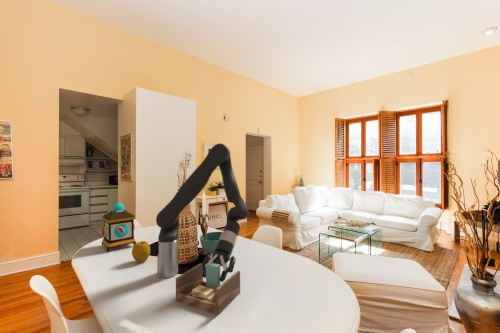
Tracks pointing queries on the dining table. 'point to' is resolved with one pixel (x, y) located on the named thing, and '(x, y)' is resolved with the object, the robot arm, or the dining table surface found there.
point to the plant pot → (210, 241)
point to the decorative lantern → (118, 227)
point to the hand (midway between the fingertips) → (212, 279)
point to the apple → (141, 251)
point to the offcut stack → (204, 293)
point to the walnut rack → (195, 278)
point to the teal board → (212, 275)
